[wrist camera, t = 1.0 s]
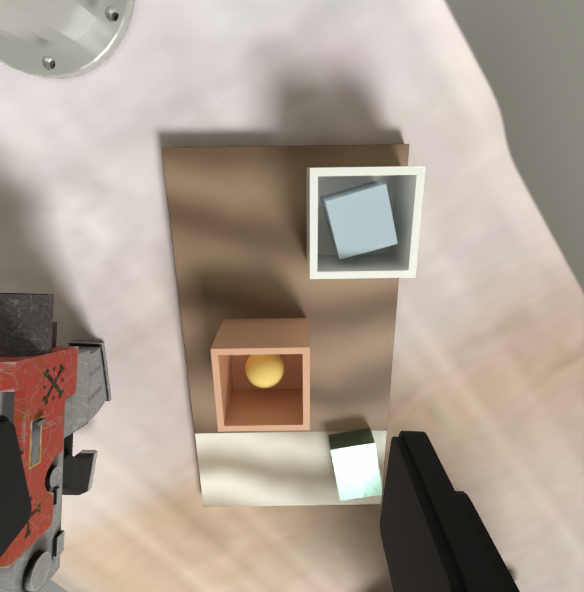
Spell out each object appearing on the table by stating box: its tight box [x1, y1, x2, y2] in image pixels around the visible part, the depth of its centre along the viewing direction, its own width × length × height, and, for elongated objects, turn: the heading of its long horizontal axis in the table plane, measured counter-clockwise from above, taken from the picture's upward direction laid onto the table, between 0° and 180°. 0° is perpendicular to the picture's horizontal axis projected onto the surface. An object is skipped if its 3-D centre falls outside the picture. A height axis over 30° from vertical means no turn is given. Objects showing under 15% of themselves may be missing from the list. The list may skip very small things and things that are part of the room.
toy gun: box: [0, 293, 111, 592], centre depth 29 cm, size 4×20×15 cm, turn 178°
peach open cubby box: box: [211, 318, 310, 432], centre depth 31 cm, size 7×7×6 cm
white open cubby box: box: [306, 166, 426, 279], centre depth 27 cm, size 7×7×6 cm
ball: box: [245, 354, 284, 388], centre depth 31 cm, size 3×3×3 cm
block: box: [321, 181, 398, 260], centre depth 27 cm, size 4×4×4 cm
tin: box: [328, 428, 382, 501], centre depth 36 cm, size 6×4×2 cm, turn 11°
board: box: [162, 144, 409, 507], centre depth 34 cm, size 34×18×1 cm, turn 1°
